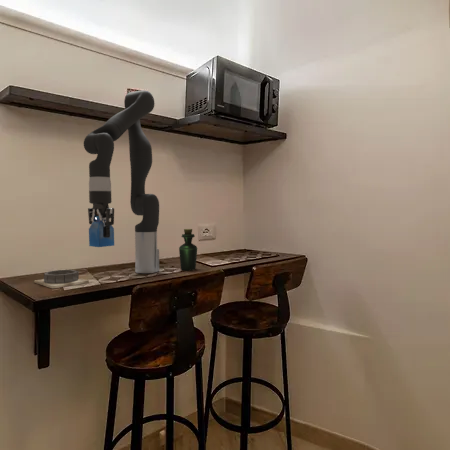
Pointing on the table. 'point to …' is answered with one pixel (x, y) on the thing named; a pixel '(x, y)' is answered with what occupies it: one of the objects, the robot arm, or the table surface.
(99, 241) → the perfume bottle
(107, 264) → the table surface
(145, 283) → the table surface
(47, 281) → the hub board
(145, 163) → the robot arm
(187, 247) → the potion bottle
